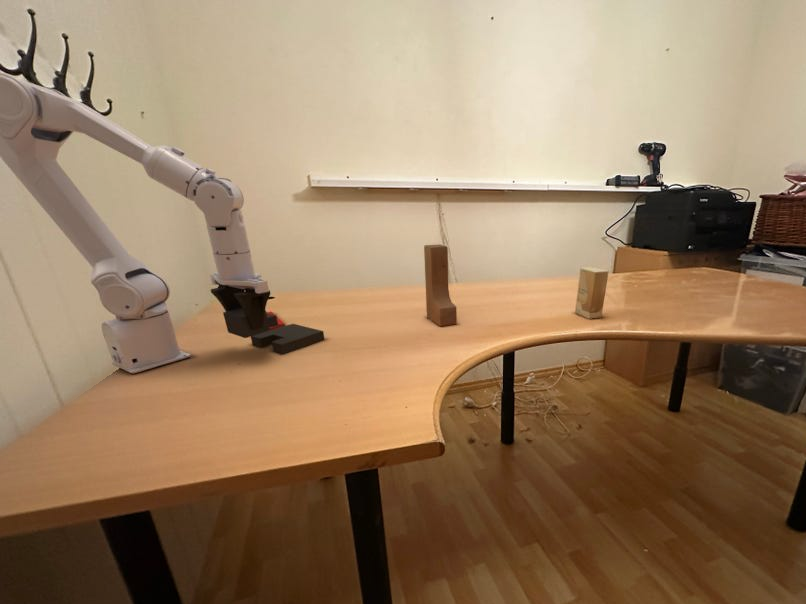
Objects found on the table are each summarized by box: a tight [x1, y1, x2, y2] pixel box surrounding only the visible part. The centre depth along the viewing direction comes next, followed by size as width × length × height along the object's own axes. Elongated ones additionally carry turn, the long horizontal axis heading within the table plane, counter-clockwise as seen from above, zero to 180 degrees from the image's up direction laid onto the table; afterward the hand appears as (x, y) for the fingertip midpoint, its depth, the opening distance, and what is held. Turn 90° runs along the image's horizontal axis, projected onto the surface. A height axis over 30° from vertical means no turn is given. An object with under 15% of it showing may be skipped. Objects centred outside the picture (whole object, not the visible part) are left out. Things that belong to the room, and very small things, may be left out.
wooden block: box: [423, 244, 458, 327], centre depth 97 cm, size 9×4×18 cm, turn 28°
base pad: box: [250, 323, 325, 355], centre depth 84 cm, size 10×10×2 cm
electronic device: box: [266, 311, 286, 330], centre depth 97 cm, size 6×1×15 cm
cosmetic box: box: [574, 266, 609, 320], centre depth 104 cm, size 6×4×12 cm
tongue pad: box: [222, 308, 278, 339], centre depth 77 cm, size 8×6×4 cm
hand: (248, 325), depth 76 cm, fingers closed on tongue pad, 5 cm apart
